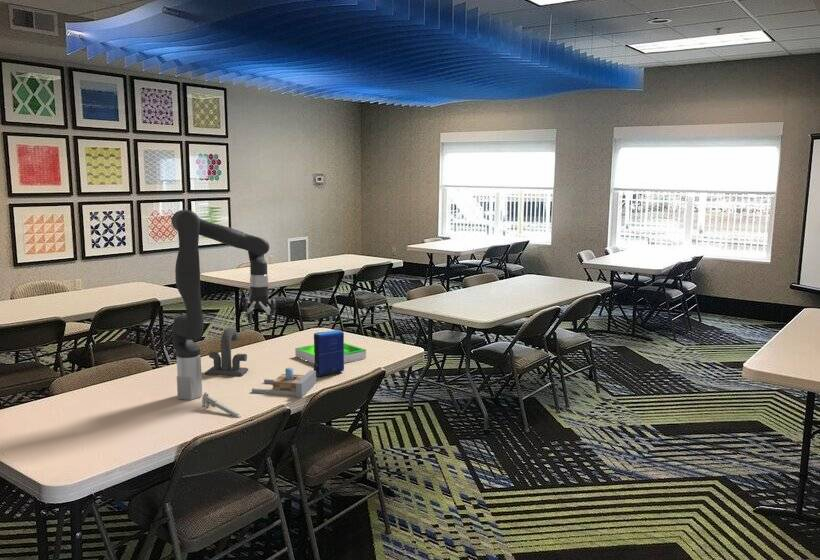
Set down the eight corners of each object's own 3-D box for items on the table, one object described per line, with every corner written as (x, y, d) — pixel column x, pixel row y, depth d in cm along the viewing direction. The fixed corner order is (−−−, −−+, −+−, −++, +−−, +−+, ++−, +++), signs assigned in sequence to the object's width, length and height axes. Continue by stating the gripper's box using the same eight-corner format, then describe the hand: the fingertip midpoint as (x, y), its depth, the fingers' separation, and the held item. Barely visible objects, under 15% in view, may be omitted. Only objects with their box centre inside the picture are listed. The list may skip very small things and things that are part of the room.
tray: (295, 358, 321) (295, 348, 320) (336, 349, 337) (336, 340, 336) (324, 369, 302) (324, 358, 301) (366, 359, 319) (366, 349, 318)
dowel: (292, 390, 270) (291, 370, 268) (284, 390, 270) (284, 369, 269) (294, 388, 273) (294, 367, 271) (287, 387, 273) (287, 367, 272)
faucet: (254, 366, 304) (253, 325, 301) (243, 376, 288) (241, 333, 285) (217, 365, 306) (216, 323, 303) (204, 374, 290) (202, 331, 287)
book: (317, 378, 287) (316, 334, 284) (311, 375, 291) (311, 332, 288) (345, 372, 295) (344, 330, 292) (339, 369, 299) (339, 328, 296)
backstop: (301, 397, 261) (301, 383, 260) (249, 394, 265) (249, 380, 264) (316, 384, 279) (315, 370, 278) (266, 380, 282) (266, 367, 282)
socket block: (298, 393, 265) (298, 383, 264) (273, 392, 267) (272, 381, 266) (307, 385, 276) (307, 375, 275) (282, 383, 278) (282, 373, 277)
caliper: (202, 407, 250) (201, 392, 249) (204, 406, 251) (203, 391, 250) (239, 418, 239) (238, 402, 238) (241, 417, 240) (240, 401, 239)
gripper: (239, 285, 270) (240, 323, 272) (271, 286, 267) (271, 325, 270) (247, 282, 277) (248, 319, 280) (278, 284, 275) (278, 321, 277)
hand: (259, 322), depth 275 cm, fingers open, 8 cm apart
